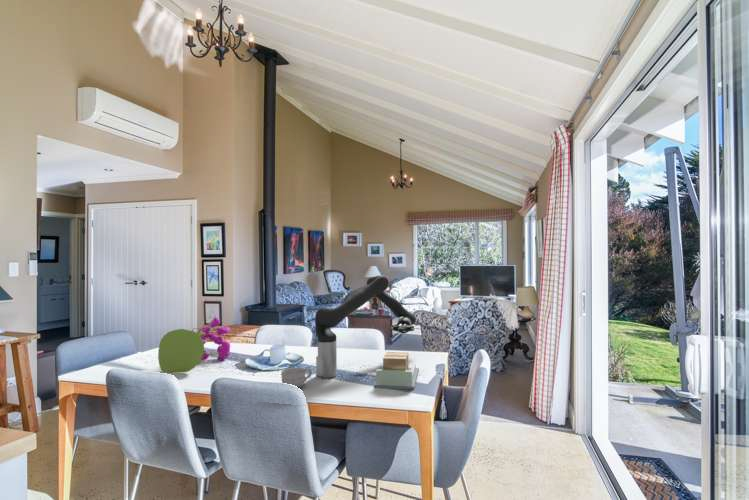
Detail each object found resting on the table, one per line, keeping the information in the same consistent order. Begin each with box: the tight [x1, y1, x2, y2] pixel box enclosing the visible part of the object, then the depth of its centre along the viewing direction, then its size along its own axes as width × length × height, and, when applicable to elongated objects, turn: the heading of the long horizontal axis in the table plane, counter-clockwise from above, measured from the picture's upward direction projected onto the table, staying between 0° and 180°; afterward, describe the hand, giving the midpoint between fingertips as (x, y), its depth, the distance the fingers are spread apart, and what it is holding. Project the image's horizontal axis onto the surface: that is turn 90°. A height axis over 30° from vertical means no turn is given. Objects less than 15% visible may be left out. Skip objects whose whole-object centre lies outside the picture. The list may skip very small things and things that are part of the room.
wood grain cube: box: [382, 351, 410, 370], centre depth 199 cm, size 12×10×11 cm
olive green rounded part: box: [157, 317, 231, 373], centre depth 238 cm, size 30×28×35 cm
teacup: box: [280, 367, 313, 389], centre depth 195 cm, size 14×11×8 cm
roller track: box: [373, 364, 420, 390], centre depth 205 cm, size 30×18×8 cm, turn 170°
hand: (400, 330), depth 221 cm, fingers closed
